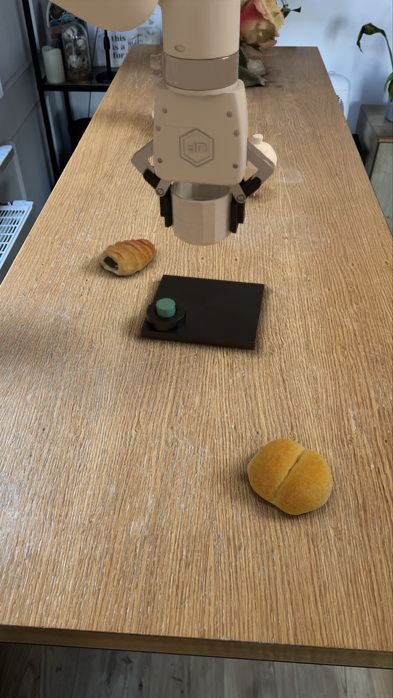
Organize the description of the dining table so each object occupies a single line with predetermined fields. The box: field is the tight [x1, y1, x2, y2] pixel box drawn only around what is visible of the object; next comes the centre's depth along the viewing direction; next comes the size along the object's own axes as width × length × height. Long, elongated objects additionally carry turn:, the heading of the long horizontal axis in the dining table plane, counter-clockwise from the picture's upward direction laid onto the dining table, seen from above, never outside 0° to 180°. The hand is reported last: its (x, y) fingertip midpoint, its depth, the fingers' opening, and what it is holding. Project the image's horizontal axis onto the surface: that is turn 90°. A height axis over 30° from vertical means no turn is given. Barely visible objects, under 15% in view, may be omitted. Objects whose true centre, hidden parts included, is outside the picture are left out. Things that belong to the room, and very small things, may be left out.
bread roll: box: [246, 438, 334, 516], centre depth 63 cm, size 8×9×4 cm
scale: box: [140, 274, 266, 351], centre depth 86 cm, size 16×14×3 cm
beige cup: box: [170, 181, 233, 247], centre depth 70 cm, size 7×7×6 cm
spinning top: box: [244, 133, 278, 197], centre depth 110 cm, size 8×8×12 cm
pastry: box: [99, 238, 156, 277], centre depth 96 cm, size 9×7×4 cm
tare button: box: [156, 298, 175, 318], centre depth 82 cm, size 3×3×2 cm
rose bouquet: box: [238, 0, 285, 87], centre depth 162 cm, size 26×29×30 cm
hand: (202, 223), depth 71 cm, fingers closed on beige cup, 7 cm apart
